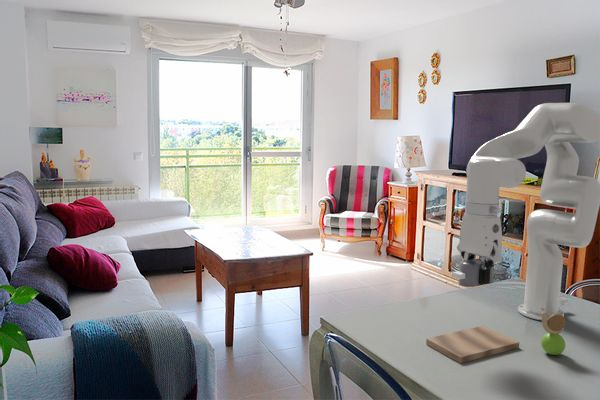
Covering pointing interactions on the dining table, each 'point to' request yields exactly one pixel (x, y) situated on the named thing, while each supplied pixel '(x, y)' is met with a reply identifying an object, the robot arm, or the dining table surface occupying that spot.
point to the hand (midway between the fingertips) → (476, 280)
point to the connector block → (470, 273)
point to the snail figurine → (553, 333)
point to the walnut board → (472, 344)
